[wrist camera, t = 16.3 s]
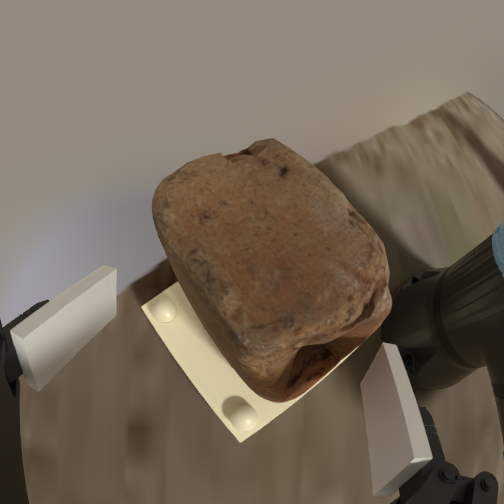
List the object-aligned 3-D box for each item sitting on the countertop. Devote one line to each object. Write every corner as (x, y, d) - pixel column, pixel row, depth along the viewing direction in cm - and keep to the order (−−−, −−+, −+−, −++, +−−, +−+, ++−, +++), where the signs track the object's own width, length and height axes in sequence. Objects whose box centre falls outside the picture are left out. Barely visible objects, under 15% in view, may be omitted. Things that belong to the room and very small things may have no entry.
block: (193, 310, 29) (118, 175, 10) (258, 270, 30) (281, 102, 12) (256, 406, 25) (291, 455, 7) (323, 360, 27) (461, 302, 9)
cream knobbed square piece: (265, 241, 37) (269, 215, 32) (353, 343, 32) (373, 333, 27) (154, 317, 33) (137, 303, 28) (240, 434, 28) (240, 444, 23)
